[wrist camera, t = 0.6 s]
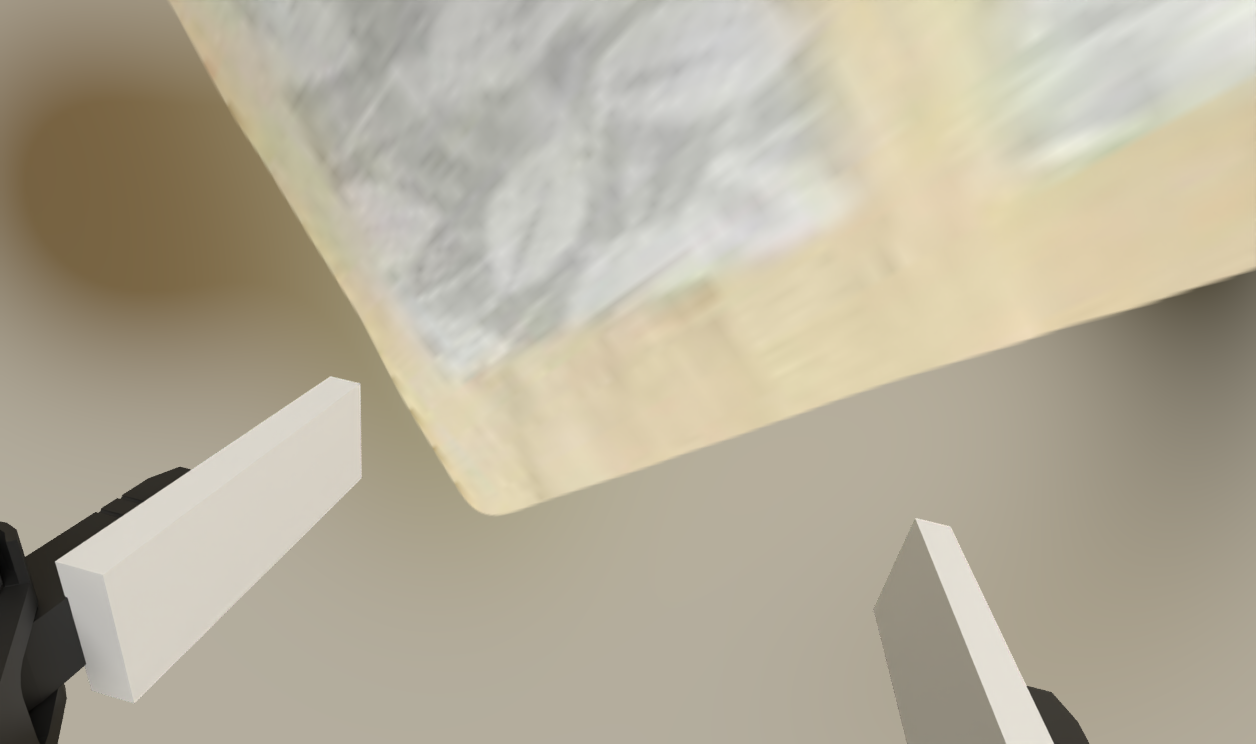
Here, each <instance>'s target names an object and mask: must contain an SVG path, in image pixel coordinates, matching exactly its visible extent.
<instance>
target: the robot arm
mask: <svg viewBox="0 0 1256 744" xmlns="http://www.w3.org/2000/svg"><path fill="white" fill-rule="evenodd" d="M360 396H361V392H360V383H356V382H352V381H348V380H344V379H339V378H336V377H331V376H330V377H329V378H327V379H326V380H324V381H323V382H321V383H320V384H318V385H317V386H315V387H314V388H312V389H311V390H309V391H308V392H306V393H305V394H303V395H302V396H300V397H299V398H298V399H296V400H294V401H293V402H292V403H290V404H289V405H287V406H286V407H284V408H283V409H281V410H280V411H278V412H277V413H275V414H274V415H272V416H271V417H269V418H268V419H266V420H265V421H263V422H262V423H260V424H259V425H257V426H256V427H254V428H253V429H251V430H250V431H249V432H247V433H245V434H244V435H242V436H241V437H240V438H238V439H237V440H235V441H234V442H232V443H231V444H229V445H228V446H226V447H225V448H223V449H222V450H220V451H219V452H217V453H216V454H214V455H213V456H211V457H210V458H208V459H207V460H205V461H204V462H202V463H201V464H199V465H198V466H196V467H195V468H194V469H192V470H190V469H186V468H183V467H178V468H175V469H172V470H170V471H167V472H164V473H162V474H159V475H156V476H154V477H151V478H148V479H147V480H145V481H143V482H142V483H140V484H139V485H137V486H136V487H134V488H133V489H131V490H129V491H128V492H126V493H125V494H123V495H122V498H121V499H118V498H117V499H115V500H114V501H112V502H111V503H109V504H108V505H106V506H104V507H103V508H101V511H100V512H99V513H97V512H95V513H93V514H92V515H90V516H89V517H87V518H86V519H84V520H82V521H81V522H79V523H78V524H76V525H75V526H73V527H71V528H70V529H68V530H67V531H65V532H64V533H62V534H61V535H59V536H57V537H56V538H54V539H53V540H51V541H49V542H48V543H46V544H45V545H43V546H42V547H40V548H38V549H37V550H35V551H34V552H32V553H31V554H29V555H28V556H26V557H25V556H24V553H23V549H22V546H21V543H20V540H19V536H18V533H17V530H16V529H15V528H13V527H12V526H11V525H9V524H8V523H5V522H0V744H58V739H59V734H60V729H61V724H62V719H63V714H64V708H65V704H66V699H67V697H66V689H65V685H64V683H65V682H66V681H67V680H68V679H70V677H72V676H73V675H74V674H75V673H76V672H78V671H79V670H80V669H81V668H82V667H84V666H85V669H86V672H87V676H88V680H89V683H90V686H91V690H92V691H94V692H98V693H101V694H105V695H108V696H111V697H114V698H118V699H121V700H125V701H128V702H131V703H135V702H136V701H137V700H138V699H139V698H140V697H141V696H142V695H143V694H144V693H145V692H146V691H147V690H148V689H149V688H150V687H151V686H152V685H153V684H154V683H155V682H156V681H157V680H158V679H159V678H160V677H161V676H162V675H163V674H164V673H165V672H166V671H167V670H168V669H169V668H170V667H171V666H172V665H174V663H176V661H177V660H178V659H179V658H181V657H182V656H183V654H185V652H187V650H189V648H191V647H192V646H193V645H194V644H195V643H196V642H197V640H199V639H200V638H201V637H202V636H203V635H204V634H205V633H206V632H207V631H208V630H209V629H210V628H211V627H212V626H213V625H214V624H215V623H216V622H217V621H218V620H219V619H220V618H221V617H222V616H223V615H224V614H225V613H226V612H227V611H228V610H229V609H230V608H231V607H232V606H233V605H234V604H235V603H236V602H237V601H238V600H239V599H240V598H241V597H242V596H243V595H244V594H245V593H246V592H247V591H248V590H249V589H250V588H251V587H252V586H253V585H254V584H255V583H256V582H257V581H258V580H259V579H260V578H261V577H262V576H263V575H264V574H265V573H266V572H267V571H268V570H269V569H270V568H271V567H272V566H273V565H274V564H275V563H276V562H277V561H278V560H279V559H280V558H281V557H282V556H283V555H284V554H285V553H286V552H287V551H288V550H289V549H290V548H291V547H292V546H294V545H295V544H296V543H297V542H298V540H299V539H300V538H302V536H304V534H306V533H307V532H308V531H309V530H310V529H311V528H312V527H313V526H314V525H315V524H316V523H317V522H318V521H319V520H320V519H321V518H322V517H323V516H324V515H325V514H326V513H327V512H328V511H329V510H330V509H331V508H332V507H333V506H334V505H335V504H336V503H337V502H338V501H339V500H340V499H341V498H342V497H343V496H344V495H345V494H346V493H347V492H348V491H349V490H350V489H351V488H352V487H353V486H354V485H355V484H356V483H357V482H358V481H359V480H360V479H361V478H362V476H361V397H360ZM874 613H875V617H876V621H877V625H878V629H879V633H880V637H881V641H882V645H883V649H884V653H885V657H886V661H887V665H888V669H889V673H890V677H891V681H892V685H893V689H894V693H895V697H896V701H897V705H898V709H899V713H900V717H901V721H902V726H903V729H904V733H905V737H906V741H907V744H1089V742H1088V740H1087V738H1086V736H1085V734H1084V733H1083V731H1082V729H1081V727H1080V725H1079V723H1078V722H1077V720H1075V718H1074V717H1073V716H1072V715H1071V714H1070V713H1069V711H1068V710H1067V709H1066V708H1065V707H1064V706H1063V705H1062V703H1061V702H1060V701H1059V700H1058V699H1057V698H1056V697H1055V696H1054V695H1053V693H1052V692H1049V691H1045V690H1041V689H1037V688H1033V687H1029V686H1026V684H1025V682H1024V680H1023V678H1022V676H1021V674H1020V672H1019V669H1018V668H1017V666H1016V663H1015V661H1014V659H1013V657H1012V655H1011V653H1010V651H1009V648H1008V646H1007V644H1006V642H1005V640H1004V638H1003V636H1002V634H1001V632H1000V630H999V627H998V625H997V623H996V621H995V619H994V617H993V615H992V613H991V611H990V609H989V606H988V604H987V602H986V600H985V598H984V596H983V594H982V592H981V590H980V588H979V586H978V583H977V581H976V580H975V577H974V575H973V573H972V571H971V569H970V567H969V565H968V562H967V560H966V559H965V556H964V554H963V552H962V550H961V548H960V546H959V544H958V541H957V539H956V537H955V535H954V533H953V531H952V529H951V527H950V526H946V525H942V524H938V523H934V522H930V521H926V520H921V519H917V518H915V520H914V522H913V524H912V526H911V528H910V531H909V533H908V535H907V537H906V539H905V542H904V544H903V546H902V548H901V550H900V552H899V554H898V557H897V559H896V561H895V563H894V565H893V568H892V570H891V572H890V574H889V576H888V578H887V581H886V583H885V585H884V587H883V589H882V591H881V594H880V596H879V598H878V600H877V603H876V605H875V607H874Z"/></svg>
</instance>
